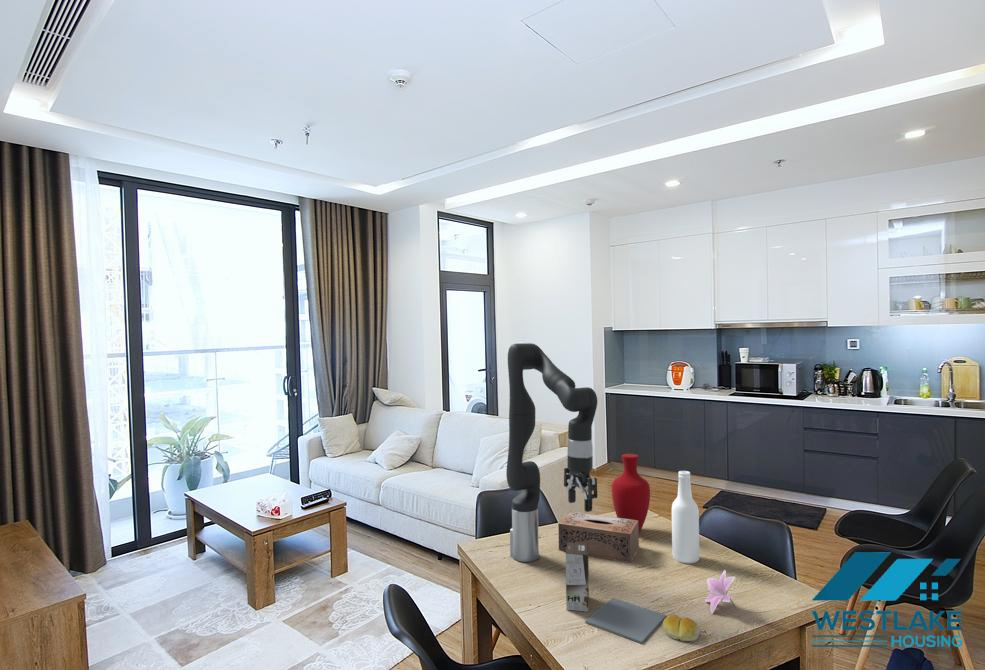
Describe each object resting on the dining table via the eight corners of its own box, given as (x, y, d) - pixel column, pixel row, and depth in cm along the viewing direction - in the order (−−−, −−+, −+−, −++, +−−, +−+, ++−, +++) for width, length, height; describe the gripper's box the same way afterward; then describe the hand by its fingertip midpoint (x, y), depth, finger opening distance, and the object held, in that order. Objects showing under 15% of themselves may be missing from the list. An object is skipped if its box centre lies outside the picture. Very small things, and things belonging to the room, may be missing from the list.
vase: (613, 537, 204) (612, 459, 204) (611, 523, 218) (610, 450, 218) (653, 539, 201) (651, 460, 201) (648, 525, 216) (647, 451, 216)
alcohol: (675, 551, 189) (673, 467, 189) (701, 556, 185) (699, 470, 185) (669, 561, 182) (668, 473, 182) (697, 566, 177) (695, 476, 177)
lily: (710, 596, 159) (695, 569, 159) (749, 589, 154) (734, 562, 153) (709, 627, 149) (693, 600, 148) (752, 621, 143) (736, 592, 142)
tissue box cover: (638, 547, 194) (638, 520, 194) (630, 563, 181) (630, 533, 181) (570, 537, 205) (570, 511, 205) (558, 551, 192) (558, 523, 193)
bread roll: (667, 621, 144) (666, 607, 144) (701, 631, 139) (701, 616, 139) (658, 636, 137) (658, 620, 137) (694, 646, 132) (694, 630, 132)
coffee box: (588, 612, 149) (587, 554, 149) (565, 610, 150) (564, 553, 151) (589, 596, 158) (588, 542, 158) (567, 594, 159) (566, 541, 159)
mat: (585, 622, 144) (585, 620, 144) (612, 599, 156) (612, 597, 156) (641, 643, 134) (641, 641, 134) (666, 617, 146) (666, 614, 146)
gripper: (556, 449, 166) (556, 501, 166) (583, 460, 153) (583, 516, 153) (576, 447, 169) (576, 498, 169) (604, 457, 156) (604, 512, 156)
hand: (580, 506), depth 161 cm, fingers open, 8 cm apart
